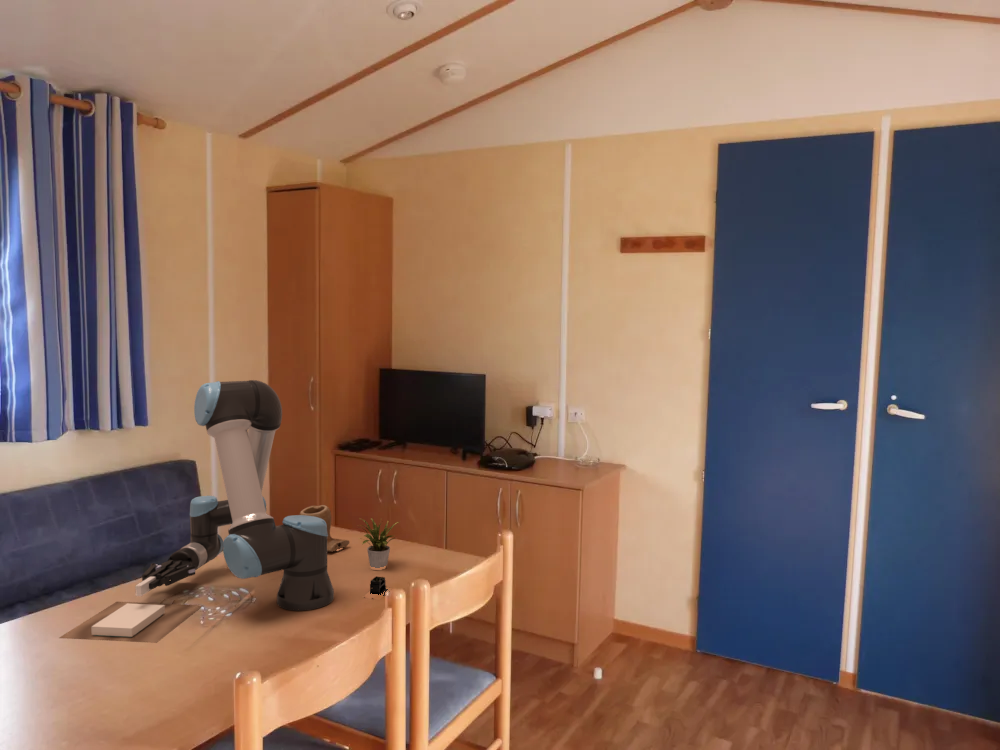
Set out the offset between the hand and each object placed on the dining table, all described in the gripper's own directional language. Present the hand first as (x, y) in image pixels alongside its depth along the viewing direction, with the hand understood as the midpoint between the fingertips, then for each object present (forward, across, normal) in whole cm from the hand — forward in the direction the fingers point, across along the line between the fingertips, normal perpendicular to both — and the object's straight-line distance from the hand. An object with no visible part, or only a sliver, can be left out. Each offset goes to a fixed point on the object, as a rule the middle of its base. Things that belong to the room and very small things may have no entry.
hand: (138, 590), depth 176 cm
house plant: (-47, -48, -9) cm, 68 cm away
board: (+2, 0, -8) cm, 9 cm away
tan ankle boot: (-62, -26, -9) cm, 68 cm away
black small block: (-27, -54, -9) cm, 61 cm away
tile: (-3, 0, -6) cm, 6 cm away
